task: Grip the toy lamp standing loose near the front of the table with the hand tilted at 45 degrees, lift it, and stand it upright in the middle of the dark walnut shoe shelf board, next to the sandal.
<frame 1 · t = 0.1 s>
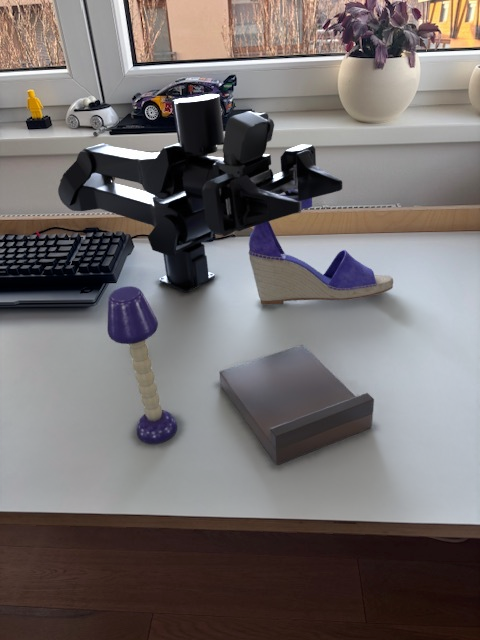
hand: (321, 195, 61), 18 cm above the table, tool horizontal, fingers open, 8 cm apart
shoe shelf: (291, 405, 59), on the table
sandal: (323, 296, 78), on the table, touching gripper
toy lamp: (154, 431, 57), on the table
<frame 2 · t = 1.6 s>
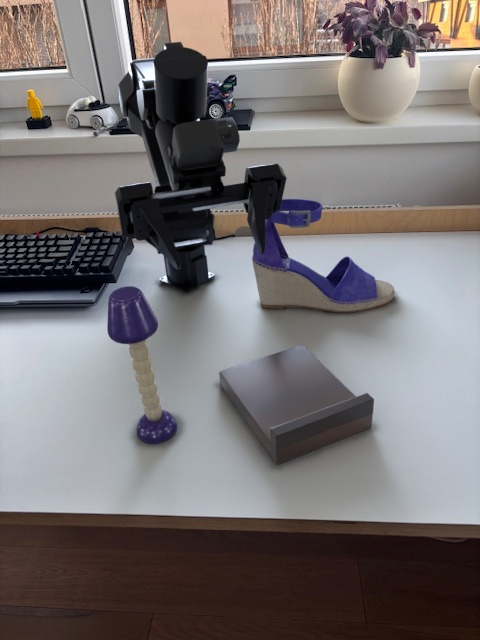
hand: (221, 258, 57), 15 cm above the table, tool tilted 60°, fingers open, 9 cm apart
sandal: (324, 301, 78), on the table
everything else where it was.
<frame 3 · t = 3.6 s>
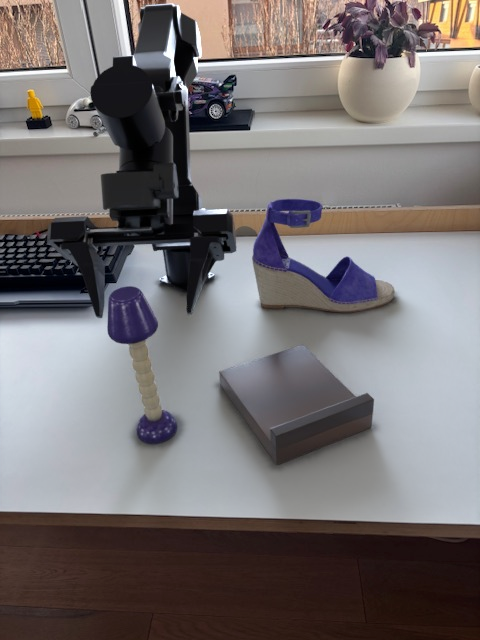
hand: (144, 315, 55), 12 cm above the table, tool tilted 45°, fingers open, 9 cm apart
nothing on the table moved.
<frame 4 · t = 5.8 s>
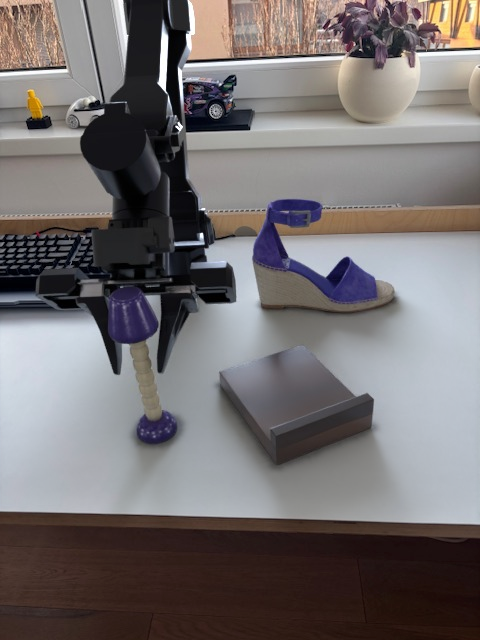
hand: (138, 373, 51), 9 cm above the table, tool tilted 45°, fingers closed on toy lamp, 4 cm apart
toy lamp: (154, 431, 57), on the table, touching gripper
everything else where it was.
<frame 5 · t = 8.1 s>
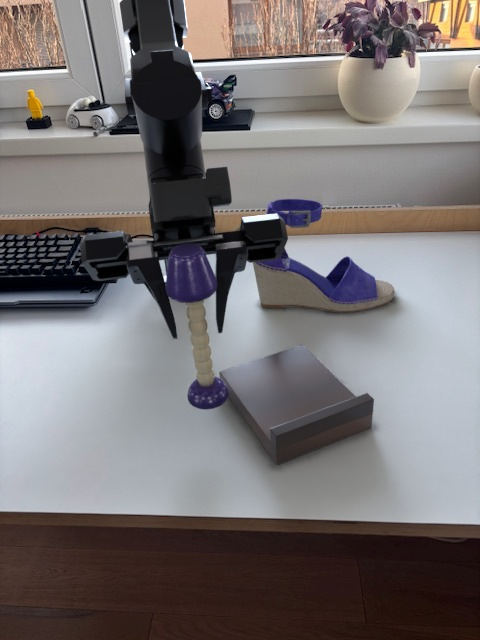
hand: (197, 335, 50), 12 cm above the table, tool tilted 45°, fingers closed on toy lamp, 4 cm apart
toy lamp: (205, 398, 56), point 3 cm above the table, touching gripper
everything else where it was.
when the fingers open (11 cm above the table, at t = 10.6 s): toy lamp stays where it is, resting on shoe shelf.
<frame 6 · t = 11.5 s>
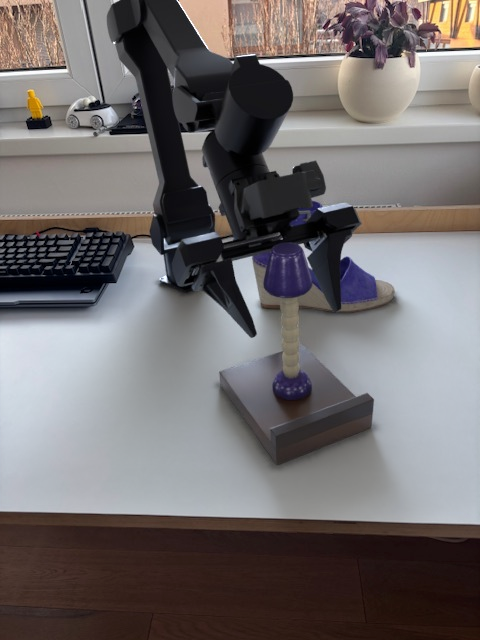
hand: (297, 323, 52), 11 cm above the table, tool tilted 45°, fingers open, 9 cm apart
toy lamp: (290, 390, 59), point 2 cm above the table, touching shoe shelf
everything else where it was.
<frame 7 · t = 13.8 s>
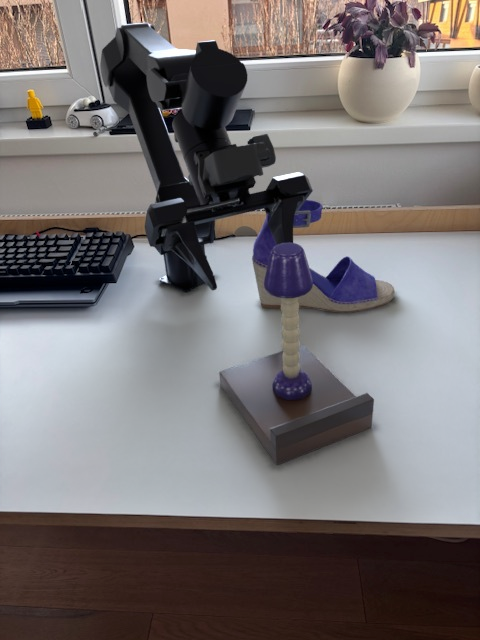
hand: (253, 278, 60), 12 cm above the table, tool tilted 45°, fingers open, 9 cm apart
nothing on the table moved.
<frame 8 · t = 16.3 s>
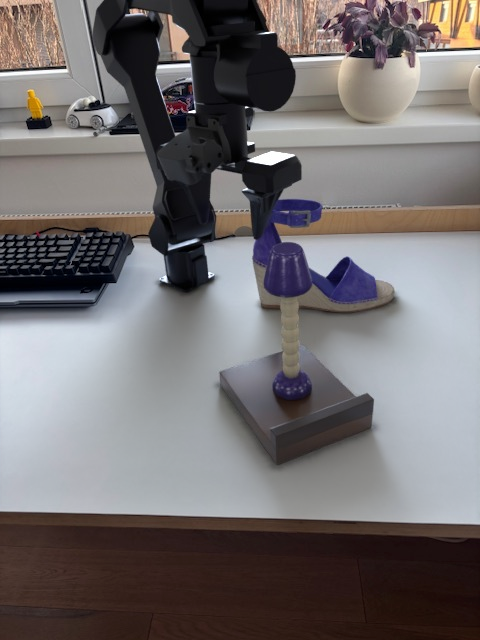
hand: (229, 230, 69), 13 cm above the table, tool pointing down, fingers open, 9 cm apart
nothing on the table moved.
at the end: toy lamp 0.2 cm off-centre on the shoe shelf, point 1.8 cm above the shoe shelf's base; toy lamp tilted 0°; toy lamp 23.2 cm from the sandal (horizontally) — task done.
